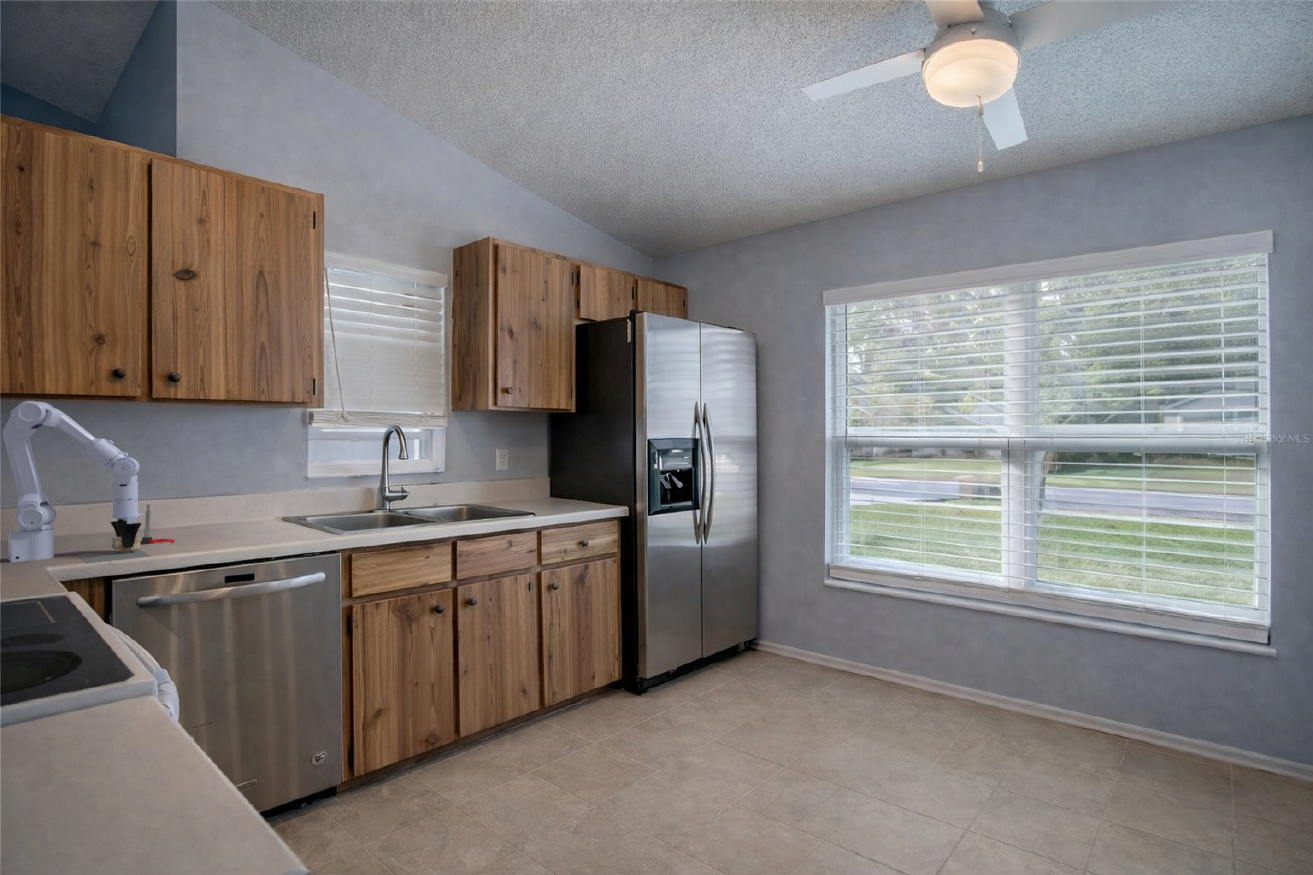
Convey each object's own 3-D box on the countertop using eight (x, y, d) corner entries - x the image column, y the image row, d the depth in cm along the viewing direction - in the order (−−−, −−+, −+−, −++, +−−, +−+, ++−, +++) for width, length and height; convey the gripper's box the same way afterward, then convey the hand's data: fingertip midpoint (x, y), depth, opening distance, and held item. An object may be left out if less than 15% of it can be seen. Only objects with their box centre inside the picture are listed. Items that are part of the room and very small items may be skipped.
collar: (116, 550, 194) (116, 539, 194) (111, 548, 198) (111, 537, 198) (140, 547, 199) (140, 537, 199) (135, 545, 202) (135, 535, 202)
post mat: (87, 566, 182) (87, 551, 182) (76, 558, 193) (76, 544, 193) (151, 559, 193) (151, 545, 193) (137, 552, 204) (137, 538, 204)
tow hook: (158, 541, 225) (132, 545, 216) (159, 502, 225) (134, 504, 216) (181, 542, 224) (156, 546, 214) (182, 503, 224) (157, 504, 215)
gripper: (148, 500, 196) (149, 547, 196) (136, 496, 206) (137, 541, 206) (117, 502, 191) (118, 550, 191) (107, 498, 201) (107, 544, 201)
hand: (126, 546), depth 198 cm, fingers closed on collar, 5 cm apart
